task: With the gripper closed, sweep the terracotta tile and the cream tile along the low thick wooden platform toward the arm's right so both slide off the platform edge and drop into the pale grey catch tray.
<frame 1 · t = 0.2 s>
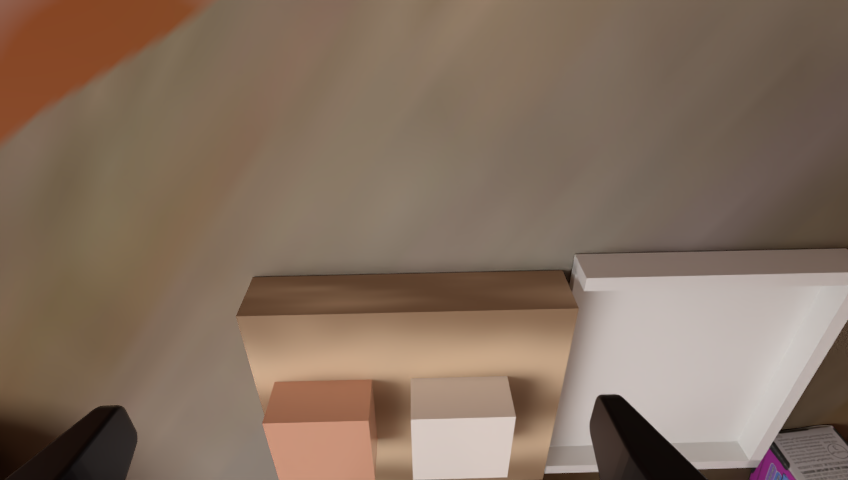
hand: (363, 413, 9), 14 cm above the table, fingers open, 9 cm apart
thick wooden platform: (411, 367, 29), on the table
tray: (670, 361, 30), on the table
tile terracotta: (328, 412, 27), point 3 cm above the table, touching thick wooden platform
candy bar box: (780, 469, 37), on the table
tile cream: (457, 408, 27), point 3 cm above the table, touching thick wooden platform
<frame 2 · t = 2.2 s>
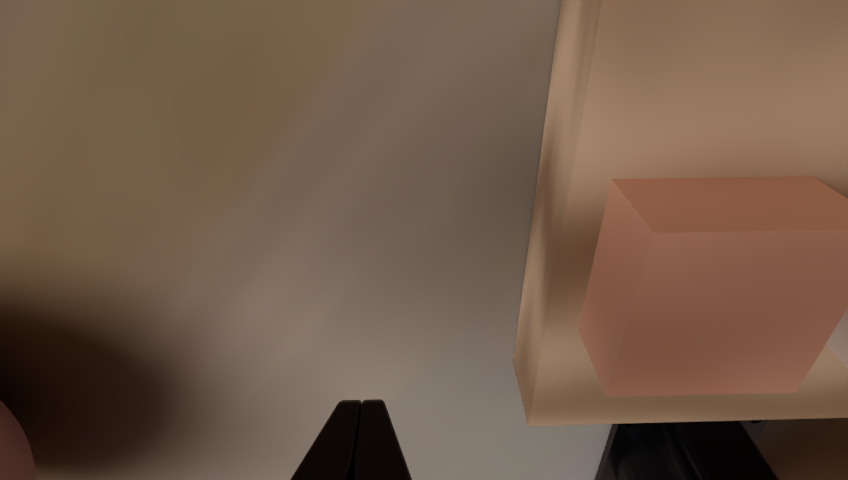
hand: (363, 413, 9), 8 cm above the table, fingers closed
thick wooden platform: (776, 205, 16), on the table
tile terracotta: (683, 260, 14), point 3 cm above the table, touching thick wooden platform
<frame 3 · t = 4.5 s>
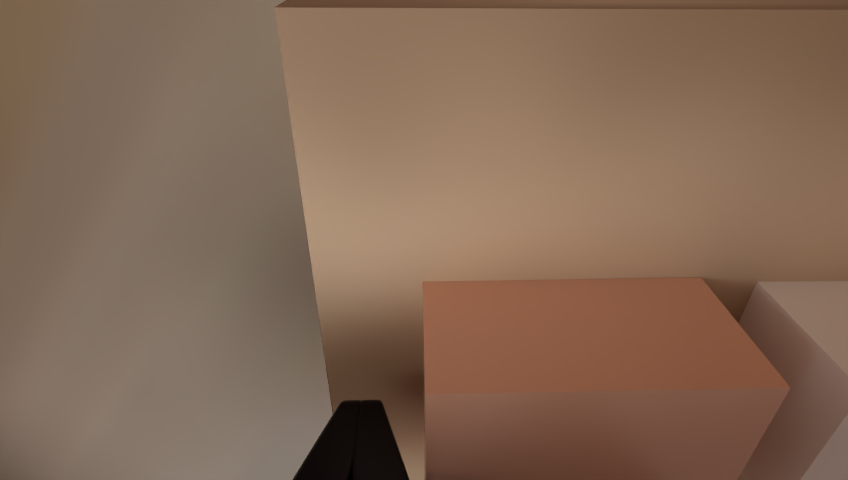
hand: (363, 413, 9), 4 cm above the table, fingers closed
thick wooden platform: (653, 287, 13), on the table
tile terracotta: (544, 376, 10), point 3 cm above the table, touching thick wooden platform, gripper
tile cream: (830, 375, 10), point 3 cm above the table, touching thick wooden platform
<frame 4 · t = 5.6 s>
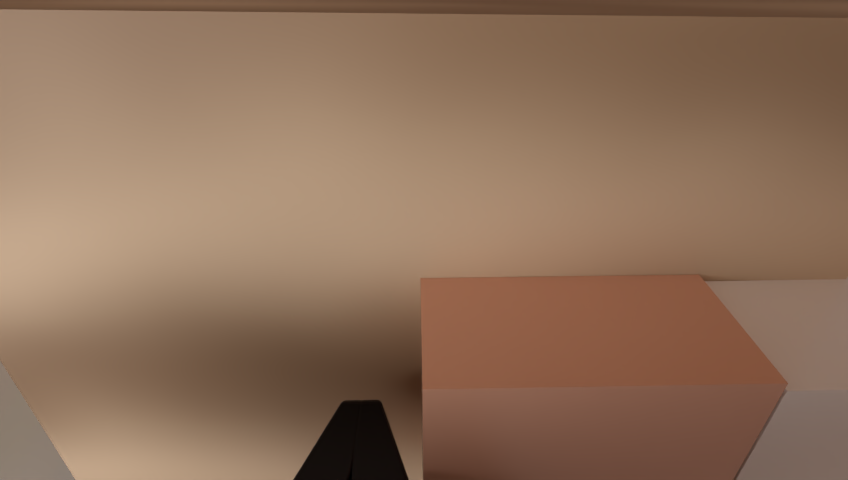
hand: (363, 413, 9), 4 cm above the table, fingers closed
thick wooden platform: (408, 291, 13), on the table
tile terracotta: (542, 373, 10), point 3 cm above the table, touching gripper
tile cream: (780, 374, 10), point 3 cm above the table, touching thick wooden platform
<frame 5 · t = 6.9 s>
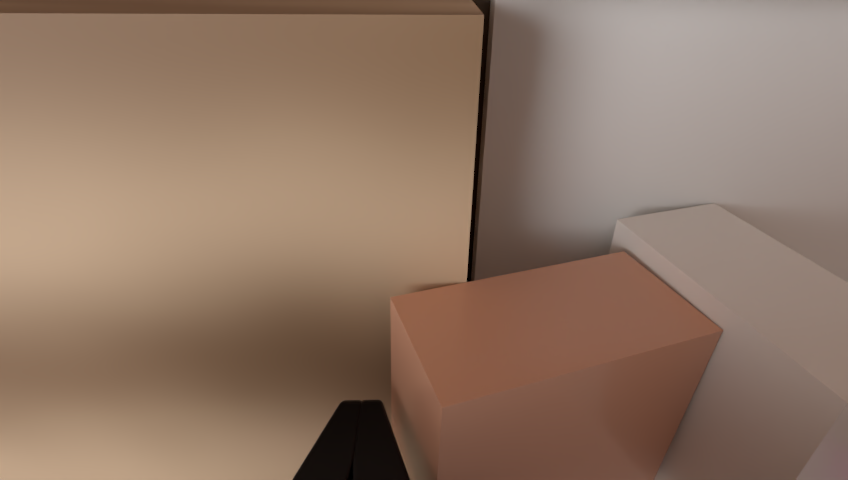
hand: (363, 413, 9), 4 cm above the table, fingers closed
thick wooden platform: (143, 290, 13), on the table
tray: (733, 286, 13), on the table
tile terracotta: (501, 365, 11), point 3 cm above the table, tilted 18°, touching thick wooden platform
tile cream: (667, 389, 10), point 4 cm above the table, tilted 105°, touching tray
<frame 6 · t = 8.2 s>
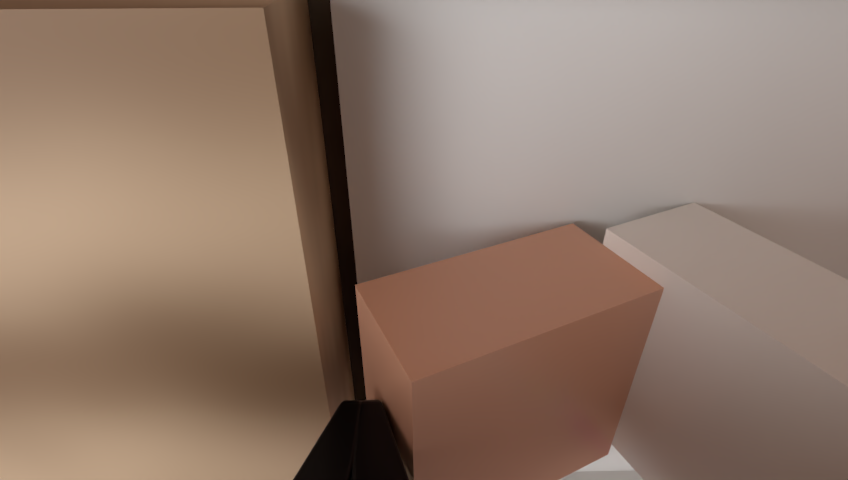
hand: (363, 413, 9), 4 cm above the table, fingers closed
thick wooden platform: (26, 294, 13), on the table
tray: (632, 285, 13), on the table
tile terracotta: (467, 341, 11), point 2 cm above the table, tilted 24°, touching gripper, tile cream
tile cream: (674, 403, 9), point 4 cm above the table, tilted 114°, touching tile terracotta, tray
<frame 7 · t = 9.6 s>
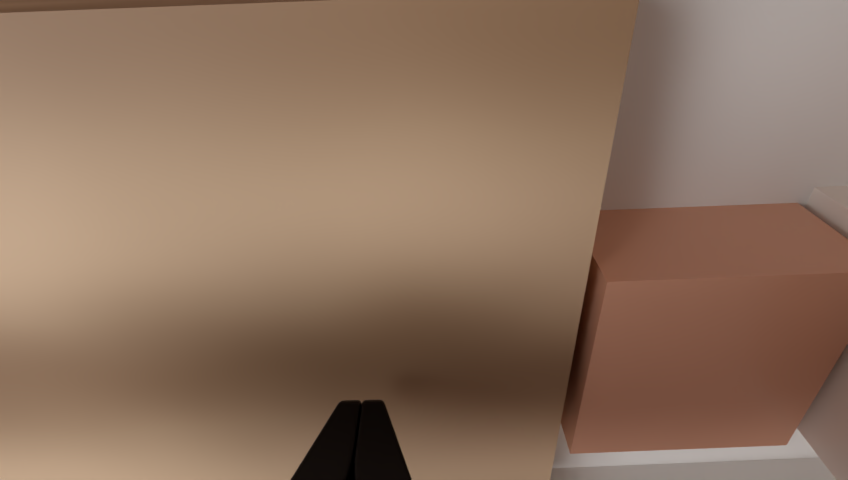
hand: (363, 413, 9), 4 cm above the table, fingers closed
thick wooden platform: (223, 294, 13), on the table
tray: (832, 270, 13), on the table
tile terracotta: (657, 296, 12), point 1 cm above the table, touching tray
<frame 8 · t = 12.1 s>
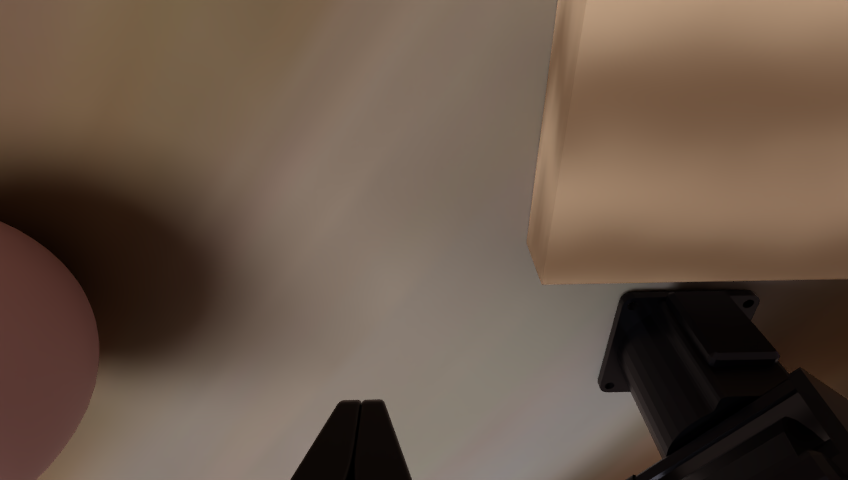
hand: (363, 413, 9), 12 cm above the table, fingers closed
thick wooden platform: (762, 80, 18), on the table
mortar and pestle: (12, 267, 22), on the table
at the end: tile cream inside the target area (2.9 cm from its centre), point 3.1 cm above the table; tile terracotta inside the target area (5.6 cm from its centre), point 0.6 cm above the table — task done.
